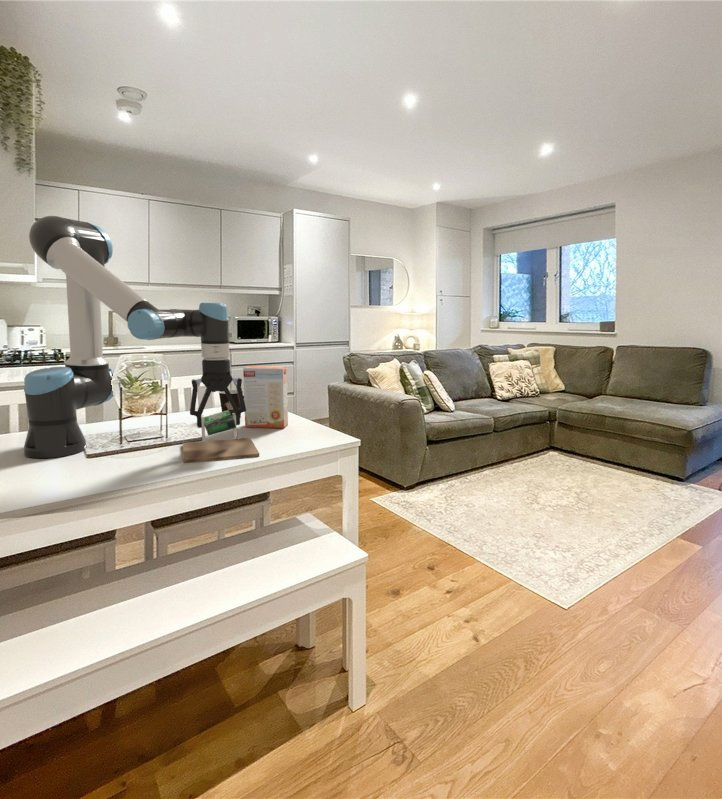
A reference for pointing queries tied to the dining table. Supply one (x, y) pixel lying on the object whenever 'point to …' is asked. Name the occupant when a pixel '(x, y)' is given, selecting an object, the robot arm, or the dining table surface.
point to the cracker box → (265, 396)
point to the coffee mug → (226, 403)
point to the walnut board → (219, 450)
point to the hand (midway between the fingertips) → (219, 437)
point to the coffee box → (219, 422)
